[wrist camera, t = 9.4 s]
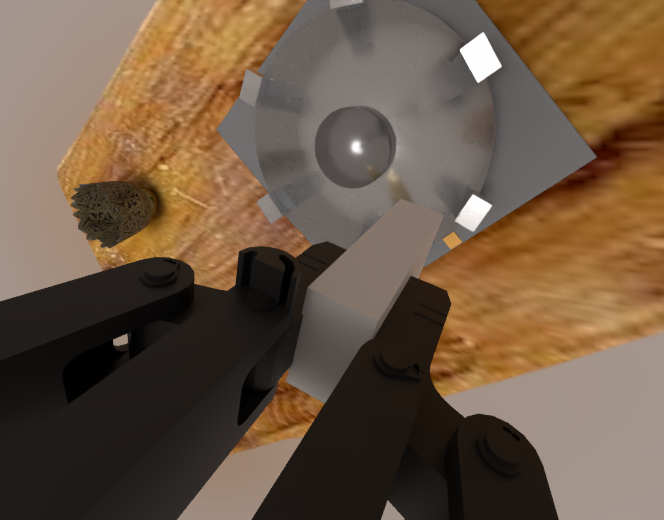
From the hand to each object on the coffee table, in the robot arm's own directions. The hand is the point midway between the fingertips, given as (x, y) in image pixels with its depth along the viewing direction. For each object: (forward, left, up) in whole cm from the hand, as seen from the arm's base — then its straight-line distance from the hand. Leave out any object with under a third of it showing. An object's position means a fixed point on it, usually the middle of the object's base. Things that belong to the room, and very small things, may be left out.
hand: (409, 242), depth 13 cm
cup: (+33, -21, -23) cm, 46 cm away
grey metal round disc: (+5, -6, -21) cm, 23 cm away
